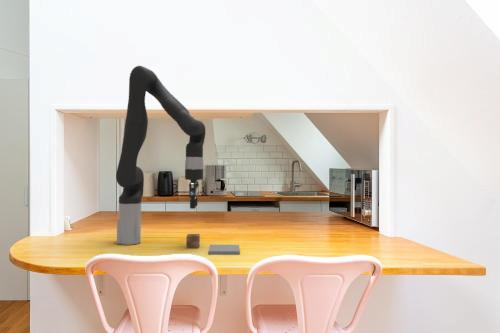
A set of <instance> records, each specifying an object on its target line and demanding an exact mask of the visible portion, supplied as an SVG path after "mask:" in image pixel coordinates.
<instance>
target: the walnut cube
mask: <svg viewBox="0 0 500 333" xmlns="http://www.w3.org/2000/svg"><path fill="white" fill-rule="evenodd" d="M185 240H186V244H185V246H186V247H185V249H199V248H200V247H201V246H200V245H201V244H200V242H201V235H200V233H188V234H187V235H186V239H185Z"/></svg>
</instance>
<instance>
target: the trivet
mask: <svg viewBox="0 0 500 333" xmlns="http://www.w3.org/2000/svg"><path fill="white" fill-rule="evenodd" d="M208 247H209V248H208V255H240V254H241V251H240V250H241V249H240V244H209V246H208Z"/></svg>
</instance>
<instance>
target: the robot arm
mask: <svg viewBox="0 0 500 333" xmlns="http://www.w3.org/2000/svg"><path fill="white" fill-rule="evenodd" d="M128 80H129V82H128V85H129V86H128V101H127V108H126V117H125V122H124V129H123V138H122V146H121V153H120V157H119V161H118V165H117V169H116V174H115V179H116V182H117V184H118V185H119V186H120V187H121V188H122V192H121V194H120V196H119V198H118V220H117V221H116V244H117V245H123V246H124V245H125V246H126V245H127V246H128V245H130V246H131V245H137V244H140V243H141V241H142V240H141V238H142V237H141V236H142V234H141V231H142V199H143V196H144V195H143V194H144V184H145V175H144V171H143V170H142V168H140V167H139V166H137V164H138V163H137V161H138V156H139V154H140V151H141V149H142V146H143V145H144V143H145V141H146V138H147V134H148V133H147V132H148V126H149V125H148V124H149V119H148V112H147V107H146V93H148V94H149V95H151V96H152V97H154V99H155V100H156V101H158V103H159V104H160V105H161V107H162V109H163V110H164V111H165V112H166V113H167V115H168V116H169V117H170V118H172V120H174V121H175V123H177V125H178V126H179V127H180V129H181V130H182V132H183V133H185V134H186V135H187V136H188V137H189V140H188V143H187V144H186V146H185V161H184V179H185V180H189V181H190V182H189V184H188V198H189V209H193V210H194V209H196V207H197V206H198V199H199V198H198V197H199V195H200V194H199V192H200V183H199V181H202V180H203V179H204V144H205V138H206V126H205V124H204V122H202V121H200V120H197V119H195V118H194V117H193V116H192V115H191V113H190V111H189V109H188V108H186V106H185V105H183V103H182V102H181V101H179V100H178V98H176V97H175V96H174V95H173V94H172V93H171V92H170V91H169V90H168V89H167V88H166V86H165V85H164V84H163V83H162V81H161V80H160V78H158V76H157V75H156V74H155V72H154V71H152V70H151V69H149V68H147V67H145V66H143V65H136V66H135V67H134V68H132V70H131V71H130V74H129V79H128Z"/></svg>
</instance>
